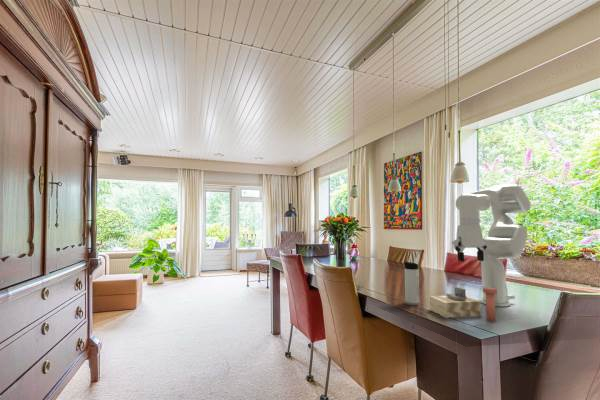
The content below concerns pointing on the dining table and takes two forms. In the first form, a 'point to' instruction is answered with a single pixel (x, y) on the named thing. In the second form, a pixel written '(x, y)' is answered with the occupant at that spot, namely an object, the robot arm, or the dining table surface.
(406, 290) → the travel mug
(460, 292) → the keeper
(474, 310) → the block
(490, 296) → the pin
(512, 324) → the dining table surface
